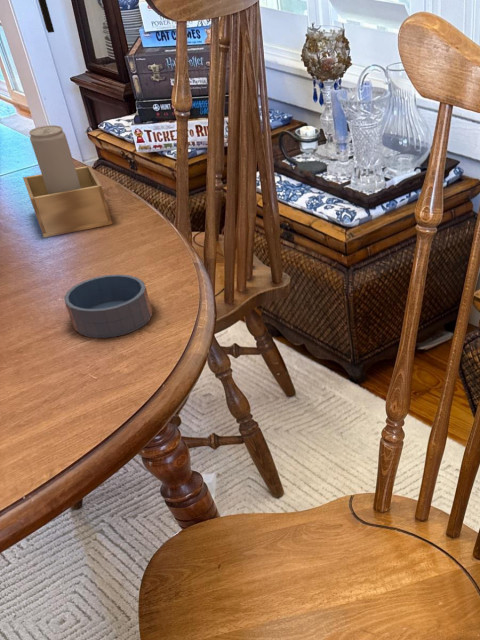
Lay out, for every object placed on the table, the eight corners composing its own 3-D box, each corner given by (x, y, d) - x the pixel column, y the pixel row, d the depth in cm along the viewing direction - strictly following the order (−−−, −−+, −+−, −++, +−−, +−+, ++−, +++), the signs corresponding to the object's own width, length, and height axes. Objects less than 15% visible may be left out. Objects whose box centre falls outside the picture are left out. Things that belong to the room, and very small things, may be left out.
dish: (77, 344, 91) (68, 317, 89) (70, 310, 98) (61, 283, 95) (158, 327, 94) (150, 300, 91) (145, 294, 100) (138, 268, 98)
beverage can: (53, 222, 117) (24, 136, 109) (59, 210, 120) (31, 126, 112) (86, 219, 117) (60, 134, 109) (90, 207, 121) (65, 123, 113)
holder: (43, 237, 115) (30, 198, 111) (35, 214, 121) (22, 177, 117) (112, 224, 117) (101, 185, 114) (101, 202, 124) (90, 165, 120)
